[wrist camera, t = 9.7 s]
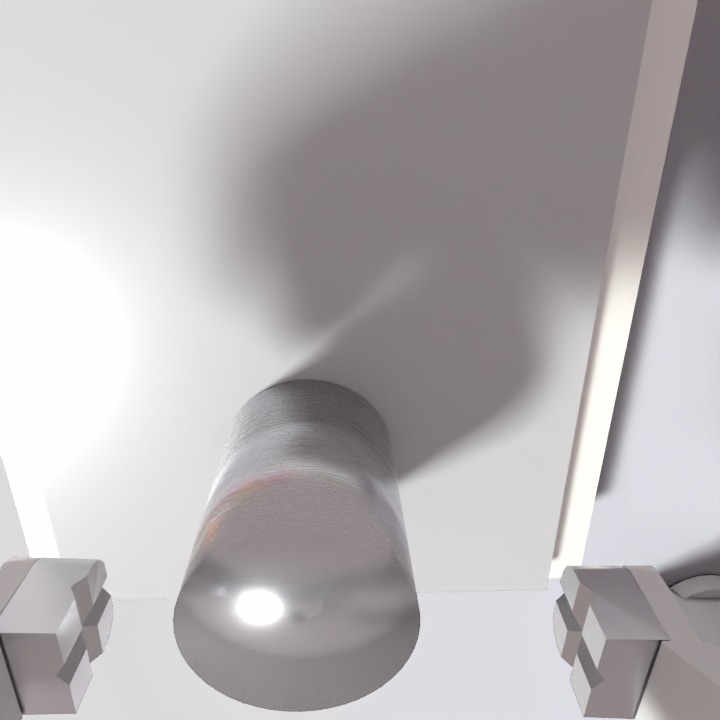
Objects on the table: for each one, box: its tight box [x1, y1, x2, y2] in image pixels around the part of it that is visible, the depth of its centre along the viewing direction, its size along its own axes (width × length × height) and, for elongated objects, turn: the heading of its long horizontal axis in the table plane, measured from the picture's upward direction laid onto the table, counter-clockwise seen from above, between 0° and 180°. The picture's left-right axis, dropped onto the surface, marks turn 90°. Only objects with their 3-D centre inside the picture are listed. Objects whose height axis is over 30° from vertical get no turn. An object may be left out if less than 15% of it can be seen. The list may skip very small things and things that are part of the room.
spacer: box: [173, 379, 420, 712], centre depth 14 cm, size 5×5×6 cm
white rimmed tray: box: [0, 0, 698, 600], centre depth 16 cm, size 18×22×4 cm
